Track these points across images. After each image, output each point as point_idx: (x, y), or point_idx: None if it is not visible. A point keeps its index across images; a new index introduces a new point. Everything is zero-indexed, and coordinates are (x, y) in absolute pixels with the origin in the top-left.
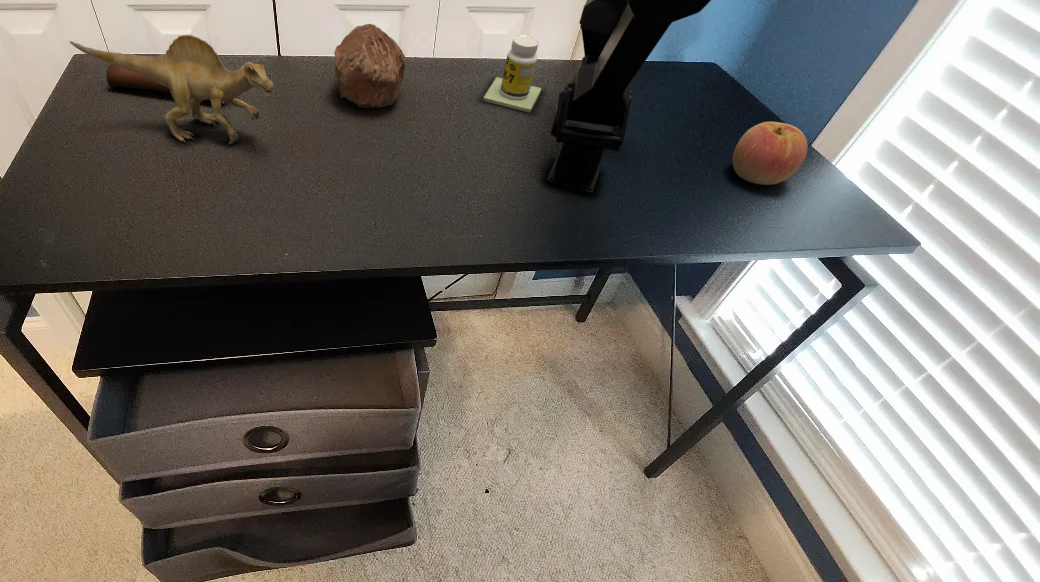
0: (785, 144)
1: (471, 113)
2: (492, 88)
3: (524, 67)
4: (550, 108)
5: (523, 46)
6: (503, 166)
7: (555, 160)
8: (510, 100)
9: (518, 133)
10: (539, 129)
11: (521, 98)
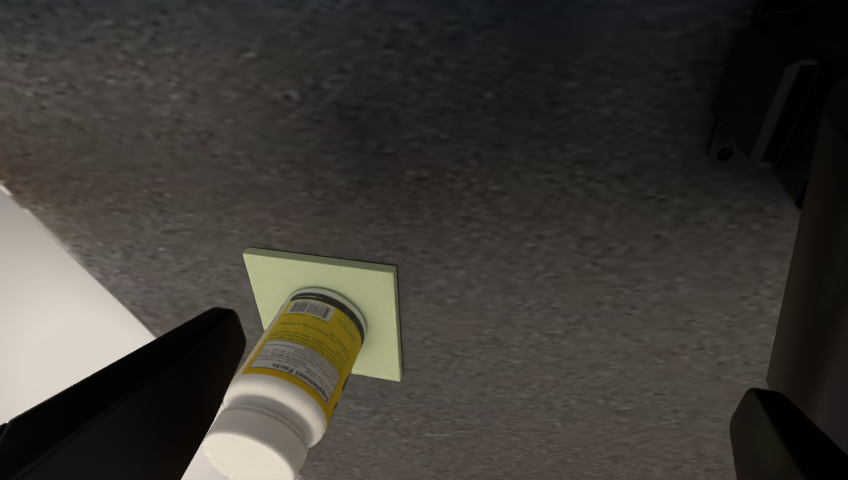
0: None
1: (482, 392)
2: None
3: (322, 394)
4: (327, 210)
5: (292, 469)
6: (780, 311)
7: (736, 166)
8: (374, 325)
9: (540, 285)
10: (484, 230)
11: (350, 303)
